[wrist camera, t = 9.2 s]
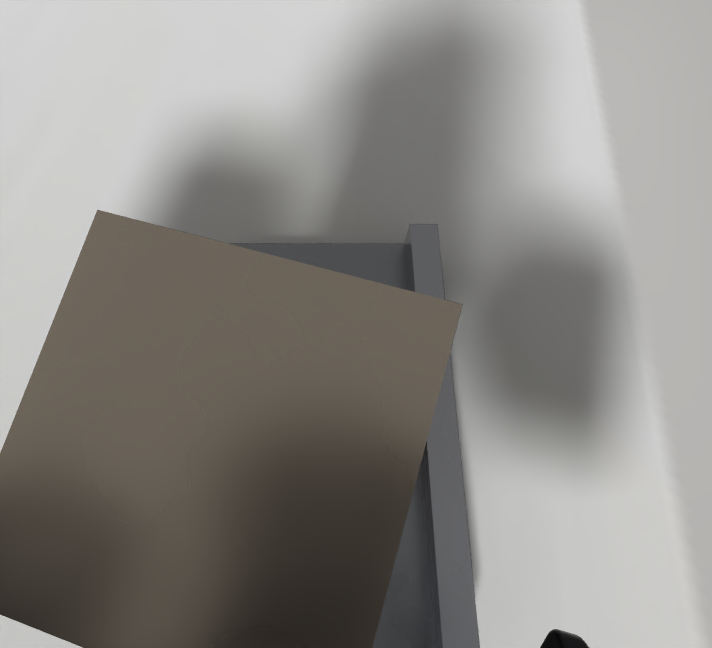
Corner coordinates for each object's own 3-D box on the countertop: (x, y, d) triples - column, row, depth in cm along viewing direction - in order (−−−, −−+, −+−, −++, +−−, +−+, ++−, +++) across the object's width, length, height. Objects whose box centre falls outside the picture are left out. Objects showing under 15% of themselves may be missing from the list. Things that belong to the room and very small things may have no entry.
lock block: (381, 535, 15) (343, 757, 5) (229, 485, 16) (-58, 596, 6) (424, 374, 16) (463, 300, 6) (278, 332, 16) (98, 206, 7)
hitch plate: (460, 660, 15) (483, 686, 13) (195, 672, 15) (171, 702, 12) (425, 256, 20) (437, 224, 18) (226, 256, 20) (213, 223, 17)
